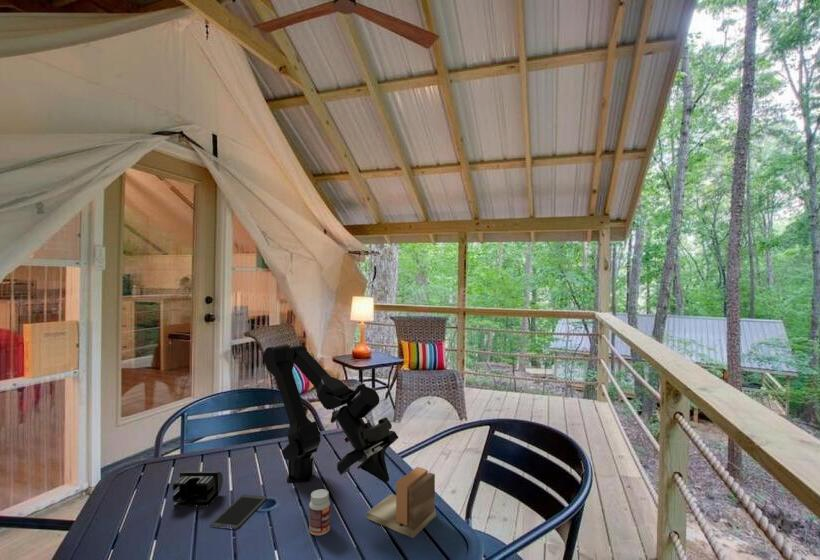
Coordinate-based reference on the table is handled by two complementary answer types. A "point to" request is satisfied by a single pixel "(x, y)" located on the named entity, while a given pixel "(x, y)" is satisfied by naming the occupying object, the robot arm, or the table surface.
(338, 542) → the table surface
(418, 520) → the pipe board
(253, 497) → the cell phone
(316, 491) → the pill bottle
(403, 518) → the wooden board
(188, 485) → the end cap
